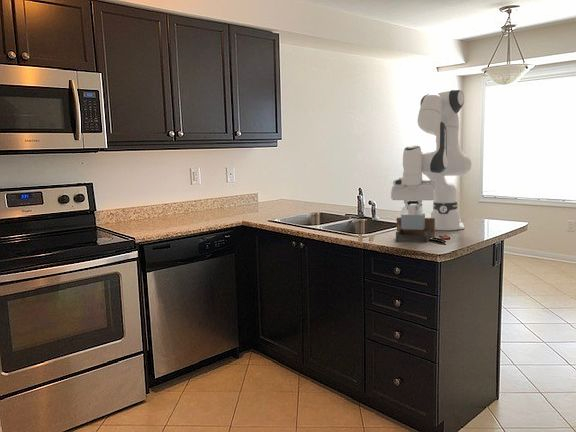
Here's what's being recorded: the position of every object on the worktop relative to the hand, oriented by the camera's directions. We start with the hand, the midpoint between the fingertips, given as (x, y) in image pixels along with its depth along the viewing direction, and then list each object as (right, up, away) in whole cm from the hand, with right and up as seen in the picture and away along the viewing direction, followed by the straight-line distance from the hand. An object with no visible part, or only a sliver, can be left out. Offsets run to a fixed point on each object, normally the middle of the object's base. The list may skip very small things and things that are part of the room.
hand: (412, 209), depth 222 cm
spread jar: (+18, -4, +71) cm, 73 cm away
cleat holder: (+1, -15, +2) cm, 15 cm away
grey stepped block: (0, -9, +1) cm, 9 cm away
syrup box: (+31, -5, +55) cm, 63 cm away
